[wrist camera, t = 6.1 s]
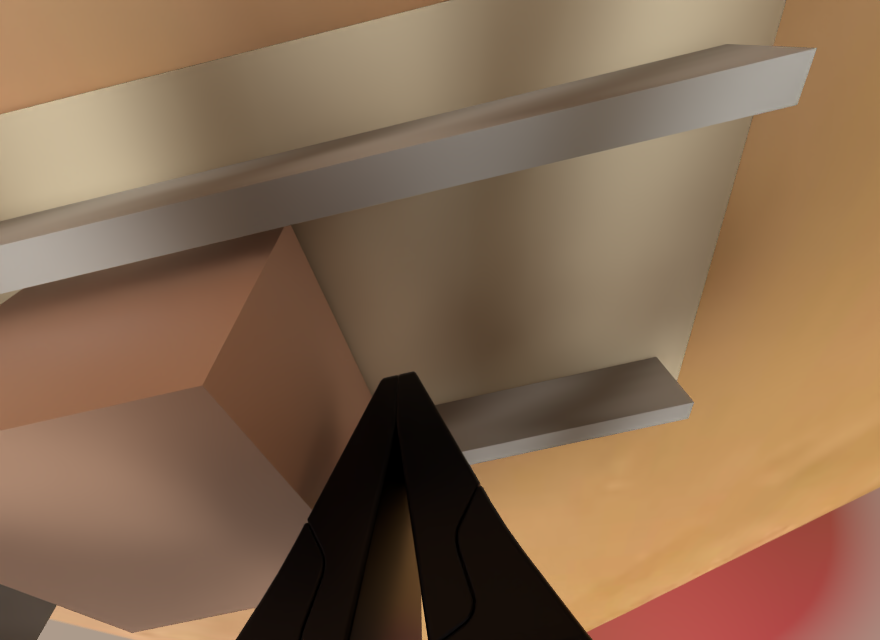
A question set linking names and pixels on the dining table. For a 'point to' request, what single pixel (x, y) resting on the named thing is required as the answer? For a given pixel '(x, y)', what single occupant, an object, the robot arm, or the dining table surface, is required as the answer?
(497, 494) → the dining table surface
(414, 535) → the robot arm
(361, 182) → the base
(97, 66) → the dining table surface
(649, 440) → the dining table surface
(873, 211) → the dining table surface
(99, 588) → the block
